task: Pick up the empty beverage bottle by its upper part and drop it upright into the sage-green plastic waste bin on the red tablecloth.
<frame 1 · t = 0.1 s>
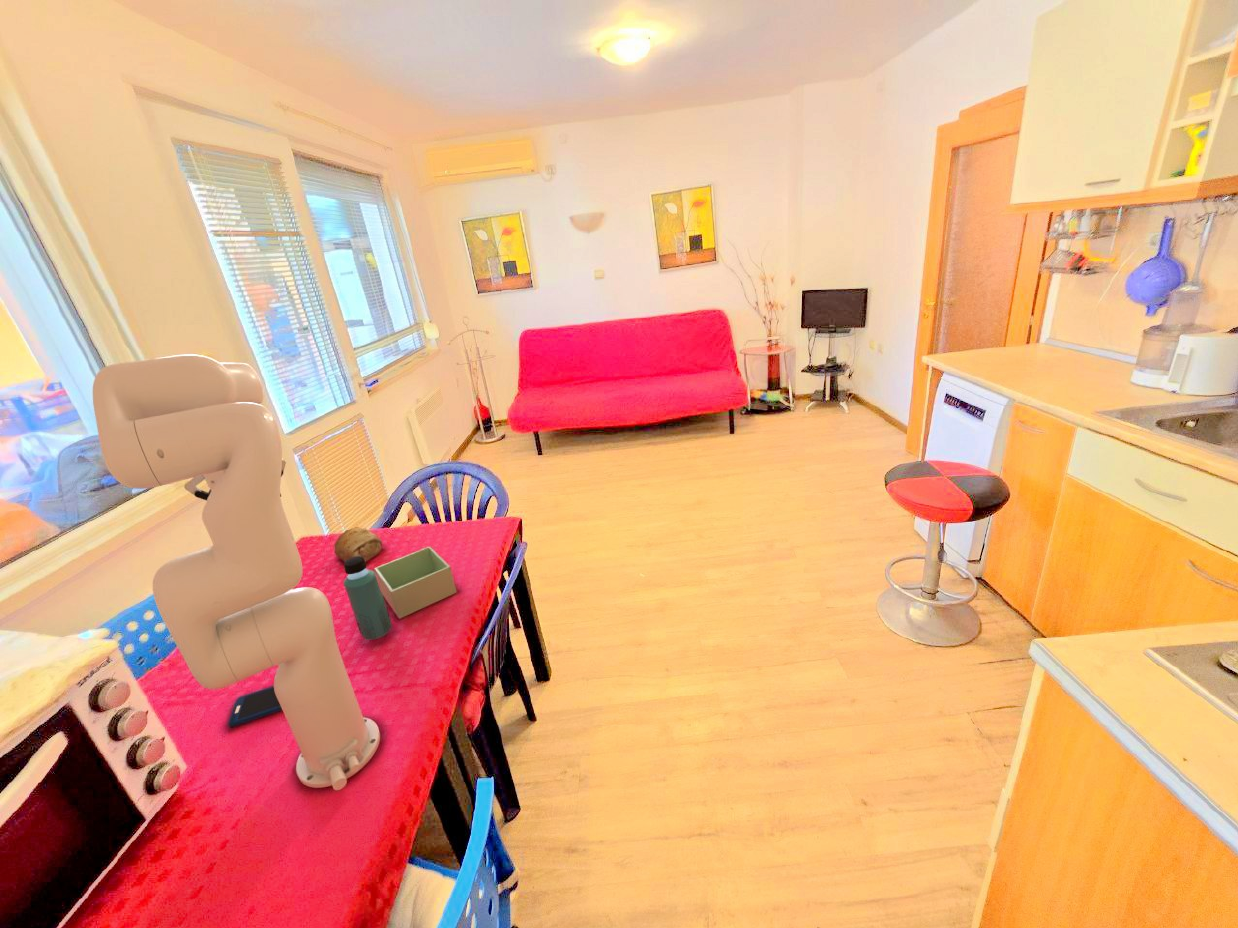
hand: (250, 508, 107), 31 cm above the table, tool pointing down, fingers open, 9 cm apart
cell phone: (275, 700, 97), on the table
pastry: (360, 555, 148), on the table
beverage bottle: (378, 636, 113), on the table
bin: (419, 592, 127), on the table
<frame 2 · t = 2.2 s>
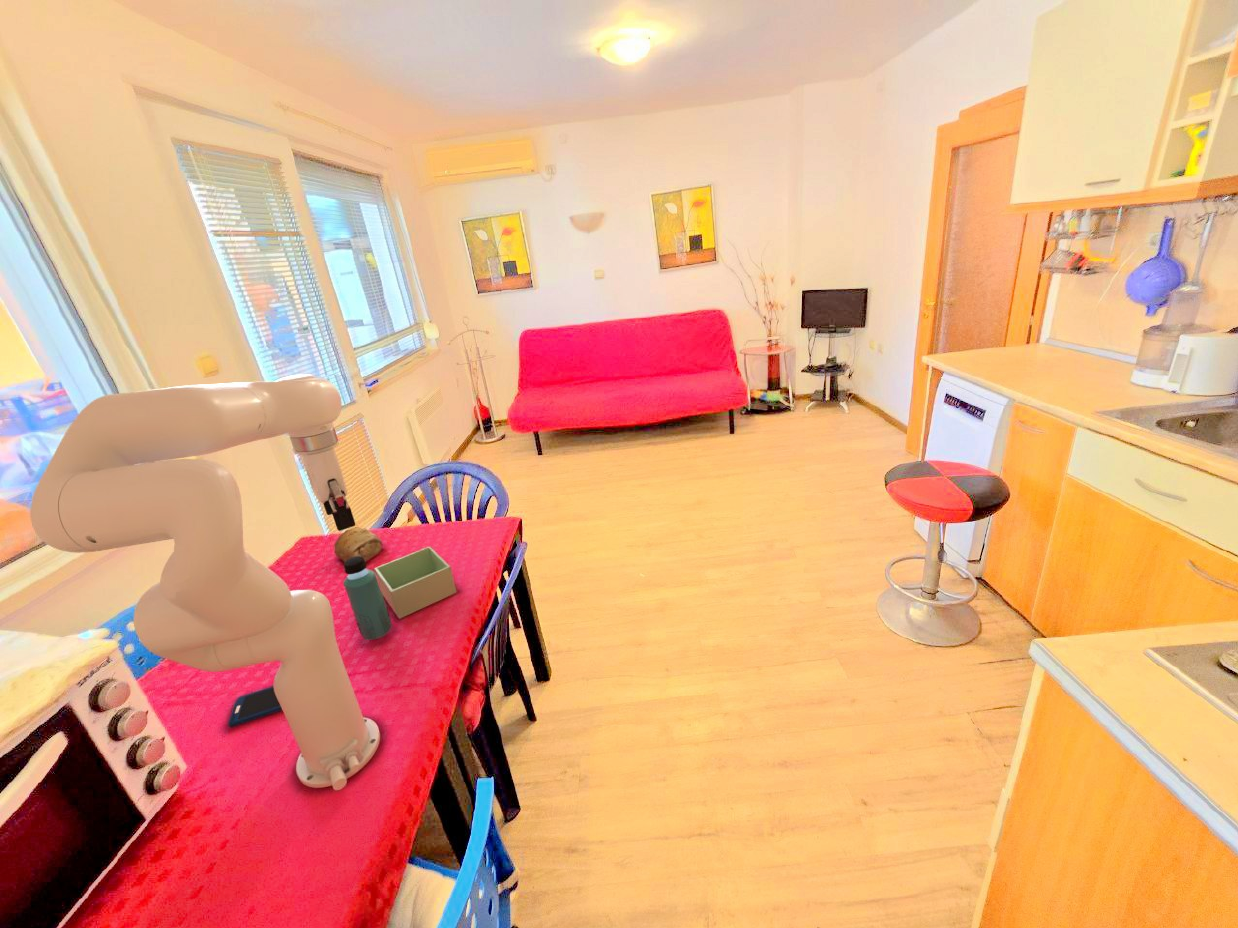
hand: (341, 519, 102), 29 cm above the table, tool pointing down, fingers open, 9 cm apart
nothing on the table moved.
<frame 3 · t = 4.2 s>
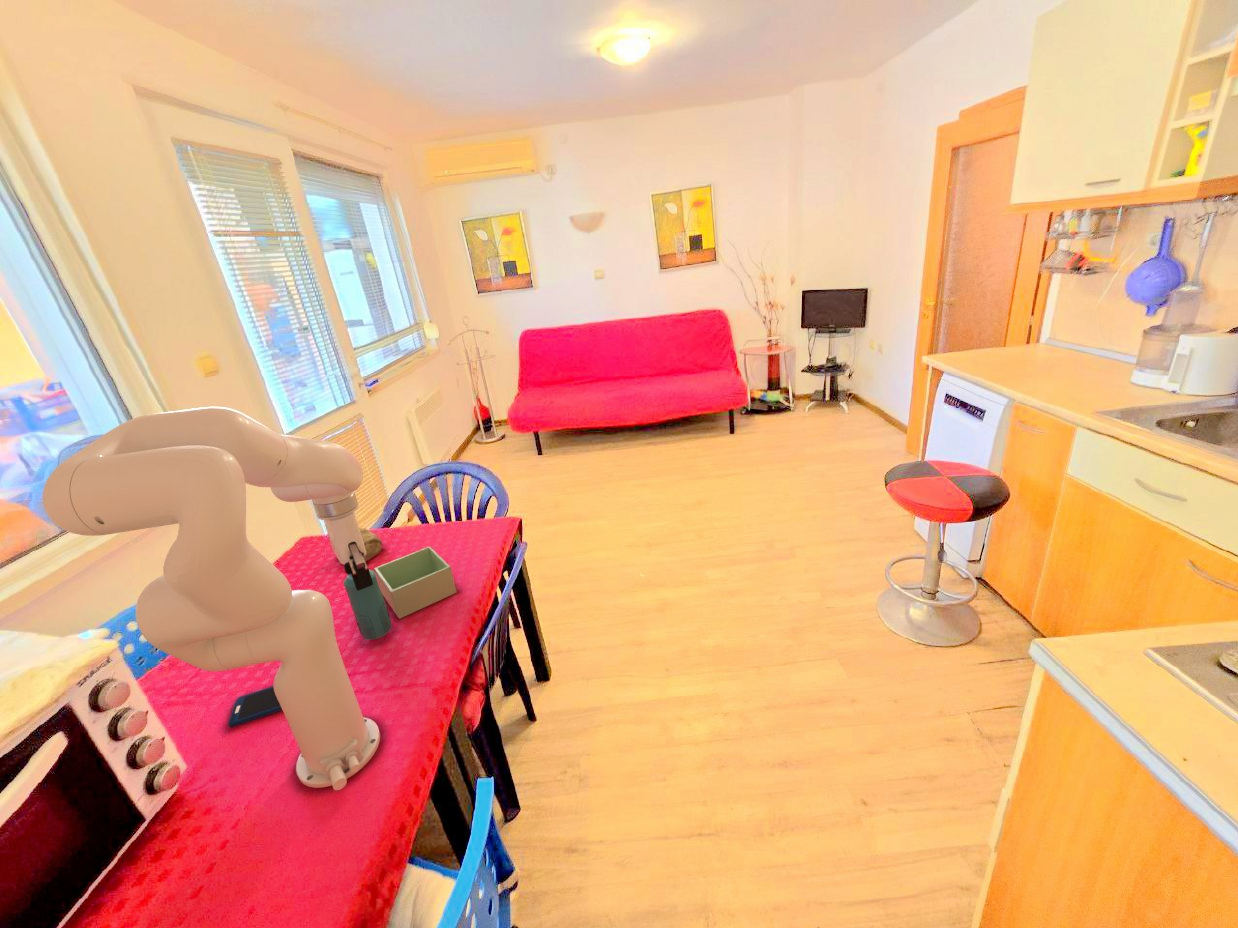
hand: (360, 579, 107), 15 cm above the table, tool pointing down, fingers closed on beverage bottle, 6 cm apart
beverage bottle: (378, 636, 113), on the table, touching gripper
everything else where it was.
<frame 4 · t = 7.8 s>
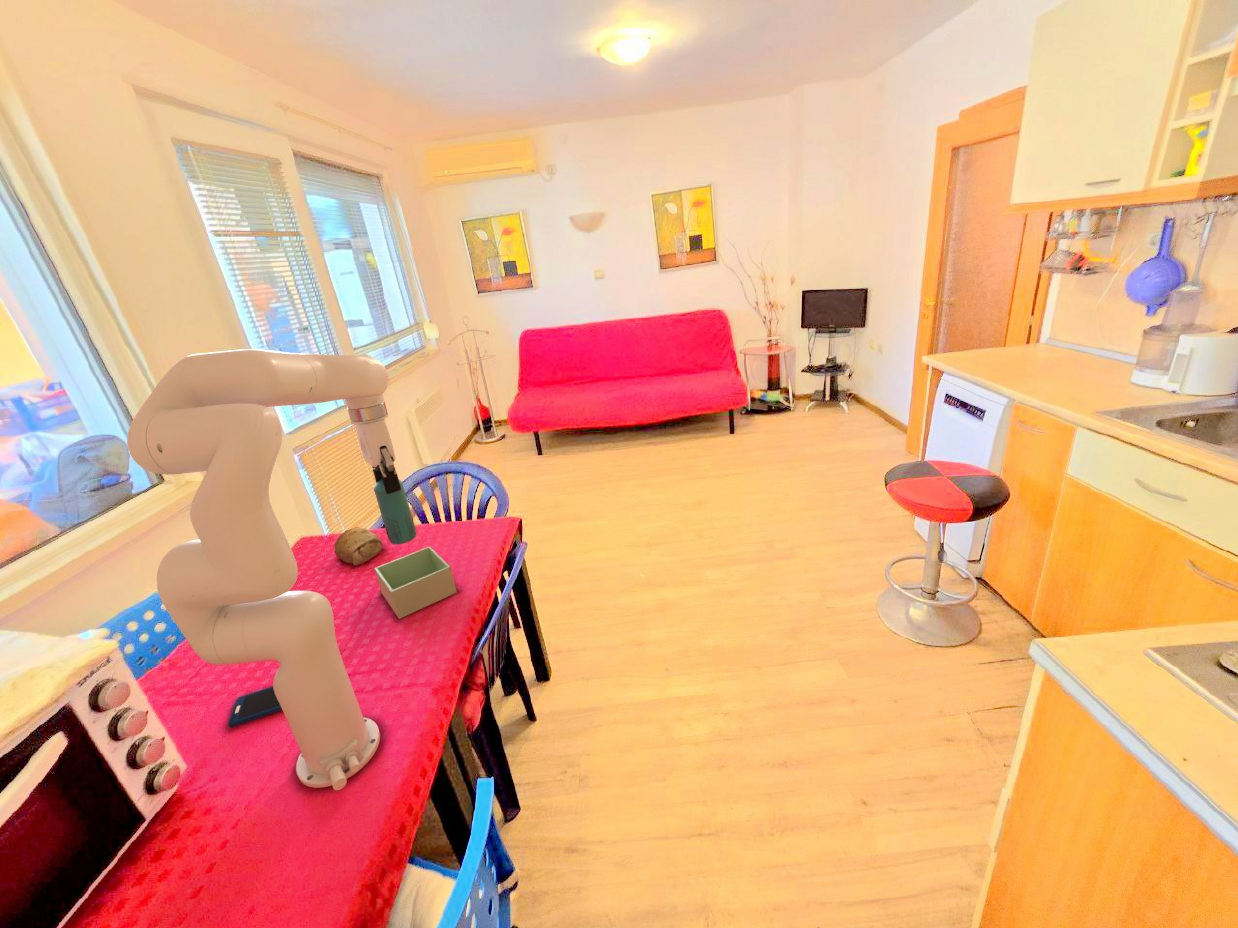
hand: (388, 486, 116), 30 cm above the table, tool pointing down, fingers closed on beverage bottle, 6 cm apart
beverage bottle: (404, 544, 122), point 14 cm above the table, touching gripper
everything else where it was.
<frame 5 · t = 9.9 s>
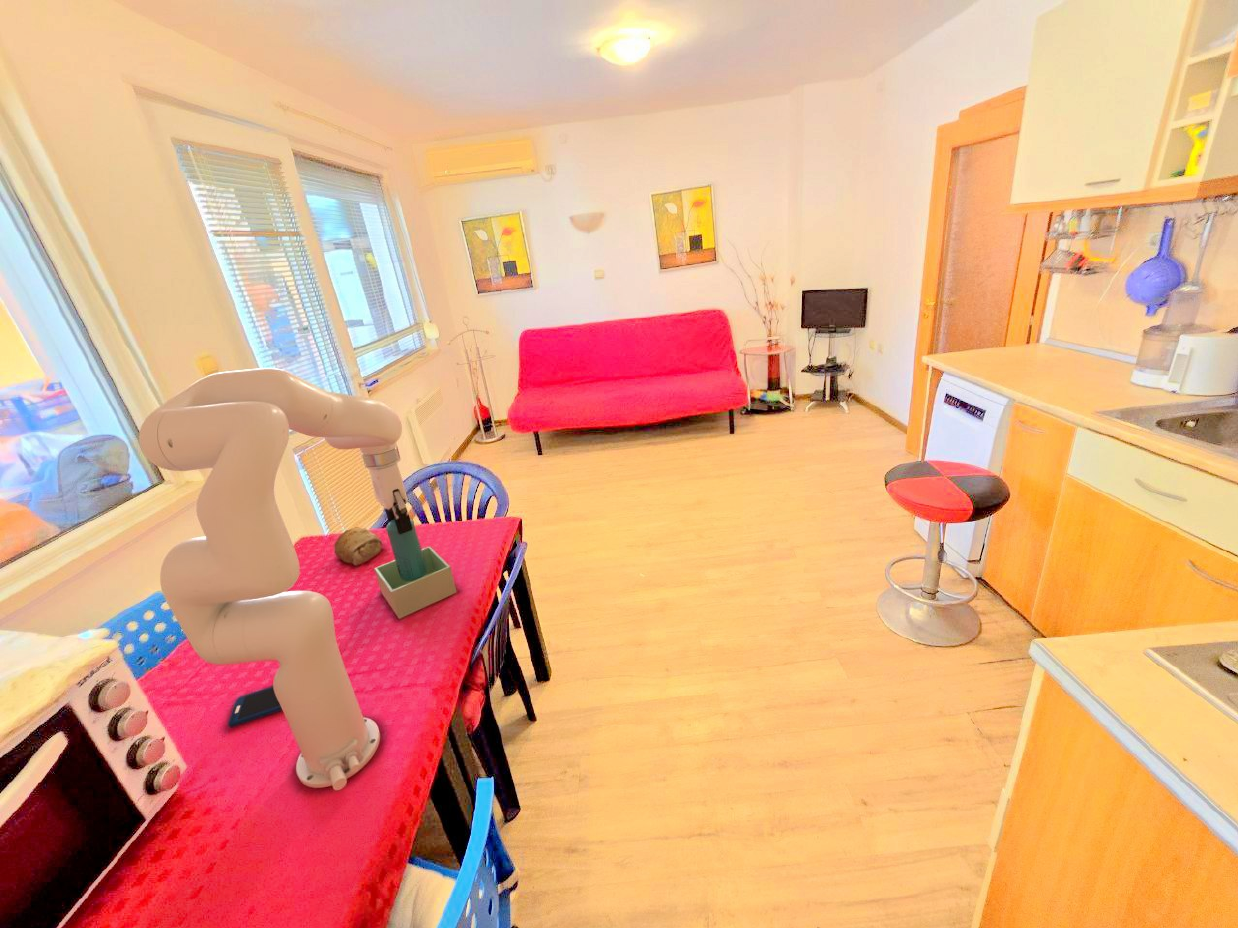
hand: (400, 526, 120), 19 cm above the table, tool pointing down, fingers closed on beverage bottle, 6 cm apart
beverage bottle: (415, 579, 126), point 4 cm above the table, touching gripper
everything else where it was.
when the fingers open (16 cm above the table, at t = 11.4 s): beverage bottle stays where it is, resting on bin.
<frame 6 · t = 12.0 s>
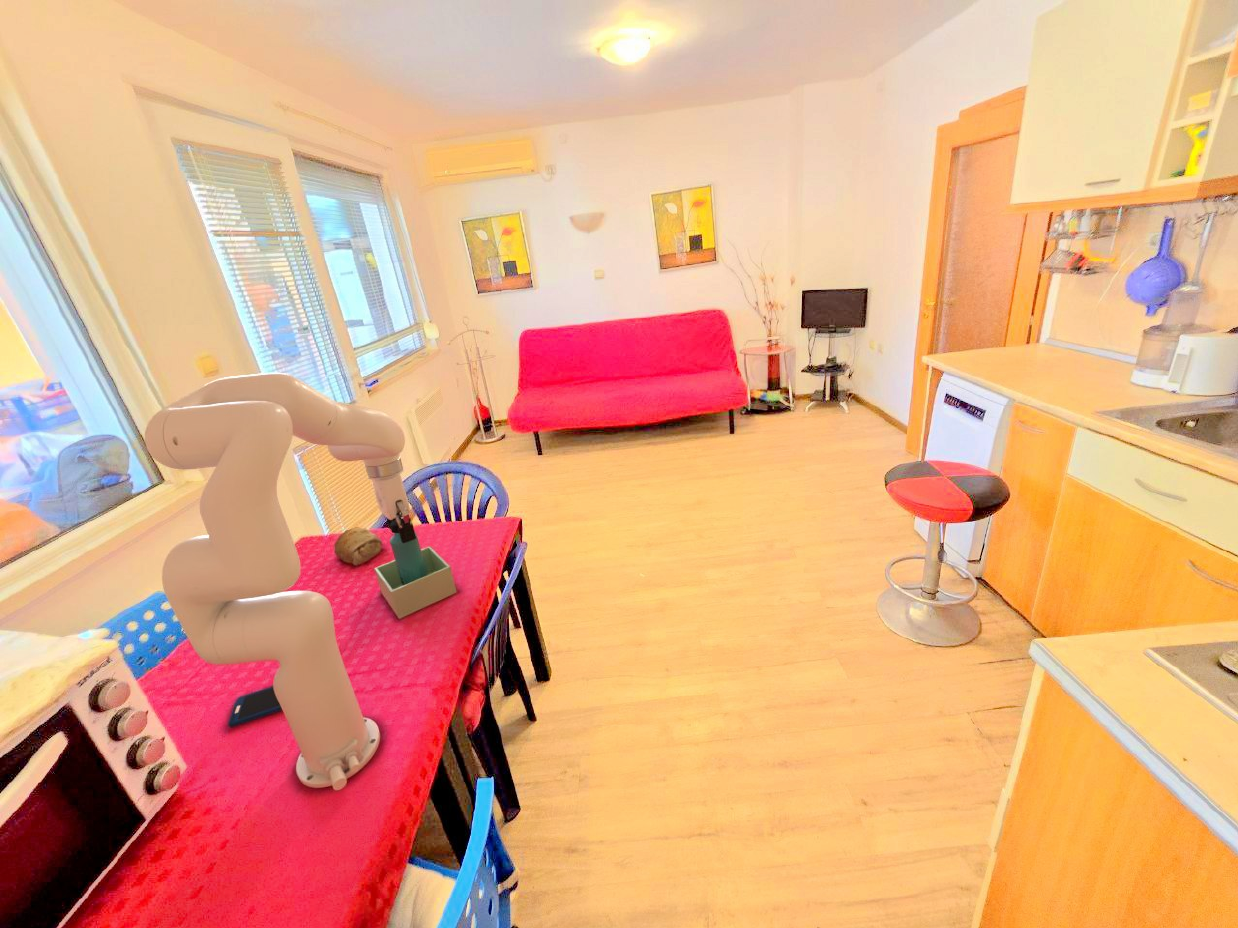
hand: (402, 533, 121), 17 cm above the table, tool pointing down, fingers open, 9 cm apart
beverage bottle: (418, 591, 127), resting on bin
everything else where it was.
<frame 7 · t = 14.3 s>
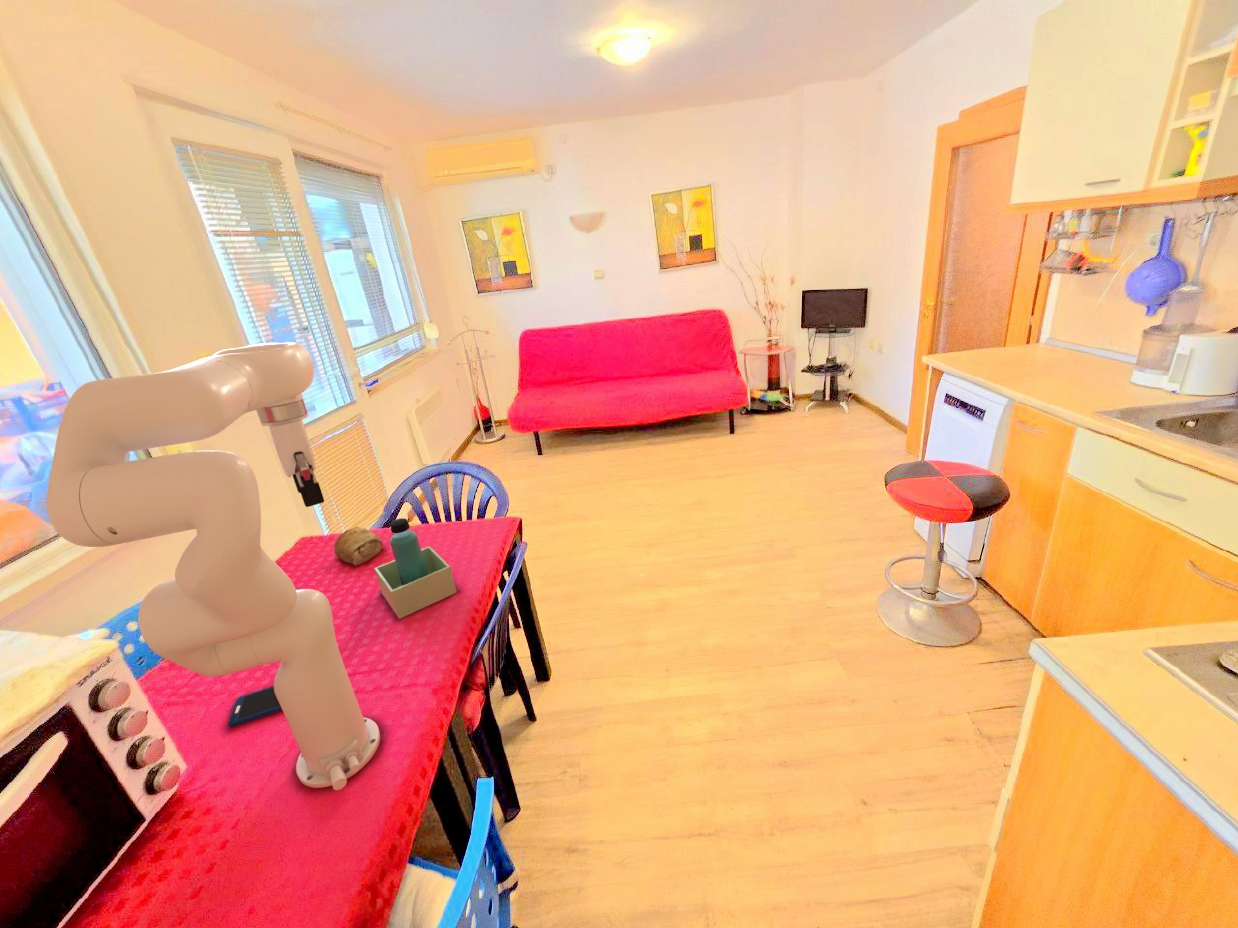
hand: (311, 497, 98), 36 cm above the table, tool pointing down, fingers open, 9 cm apart
nothing on the table moved.
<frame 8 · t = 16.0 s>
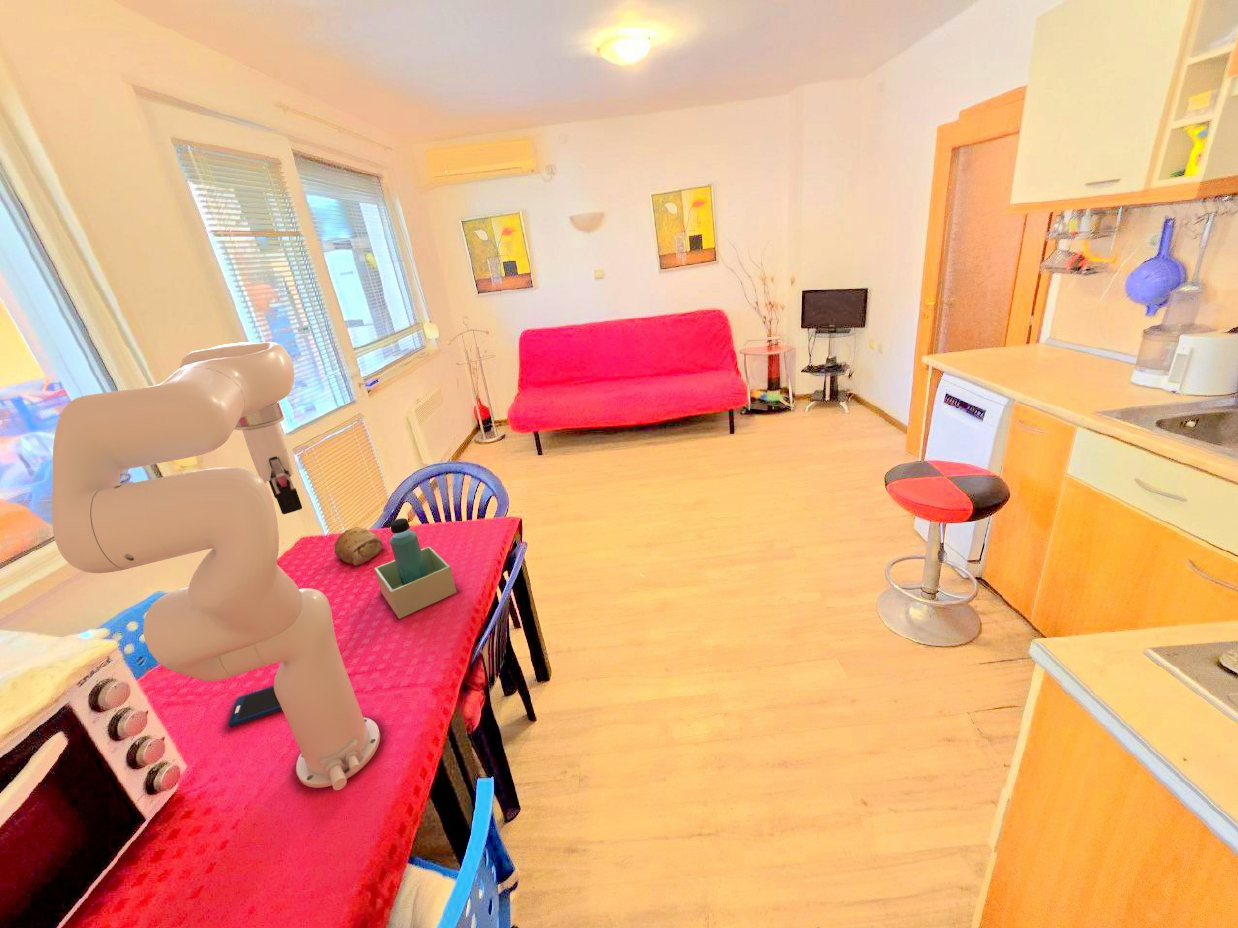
hand: (288, 503, 94), 36 cm above the table, tool pointing down, fingers open, 9 cm apart
nothing on the table moved.
at the end: beverage bottle inside the target area in the bin (0.1 cm from its centre), point 0.4 cm above the bin's base; the gripper is holding nothing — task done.
